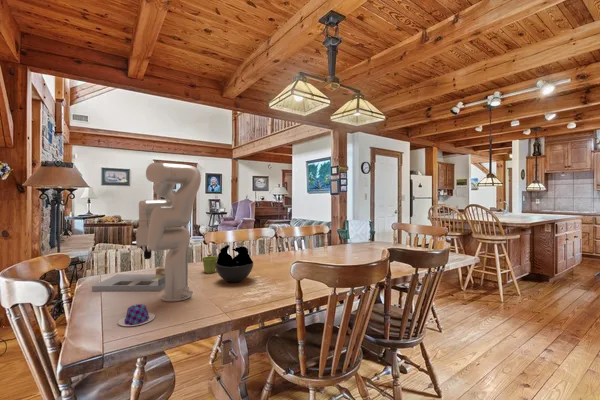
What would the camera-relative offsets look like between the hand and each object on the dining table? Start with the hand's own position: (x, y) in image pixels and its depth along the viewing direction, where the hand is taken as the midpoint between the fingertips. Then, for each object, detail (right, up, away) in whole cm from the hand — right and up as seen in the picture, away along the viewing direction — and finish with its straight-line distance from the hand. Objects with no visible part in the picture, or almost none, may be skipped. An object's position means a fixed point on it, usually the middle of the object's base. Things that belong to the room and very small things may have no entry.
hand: (147, 258), depth 156 cm
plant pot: (+26, -13, +22) cm, 36 cm away
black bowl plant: (+45, -13, +4) cm, 47 cm away
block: (+6, -10, +2) cm, 12 cm away
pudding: (+20, -14, -46) cm, 52 cm away
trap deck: (-4, -13, -3) cm, 13 cm away
